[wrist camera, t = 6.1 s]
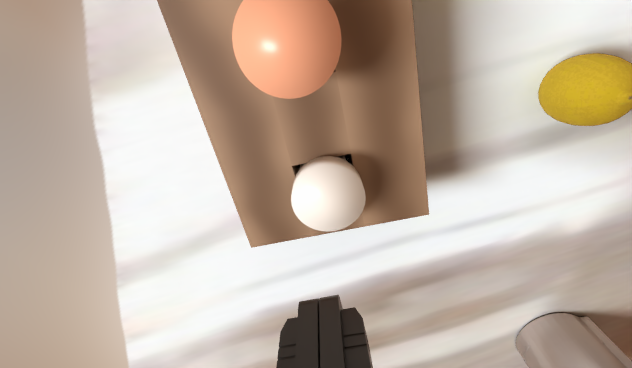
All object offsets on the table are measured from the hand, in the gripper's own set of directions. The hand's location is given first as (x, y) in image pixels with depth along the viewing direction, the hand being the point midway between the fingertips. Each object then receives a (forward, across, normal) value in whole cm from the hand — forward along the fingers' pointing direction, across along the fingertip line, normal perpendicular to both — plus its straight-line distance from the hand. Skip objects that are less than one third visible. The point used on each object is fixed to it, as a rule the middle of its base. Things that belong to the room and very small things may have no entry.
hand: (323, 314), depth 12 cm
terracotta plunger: (+17, 0, -9) cm, 20 cm away
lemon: (+21, -22, -1) cm, 31 cm away
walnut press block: (+21, 0, -4) cm, 22 cm away
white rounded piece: (+20, 0, +2) cm, 20 cm away
